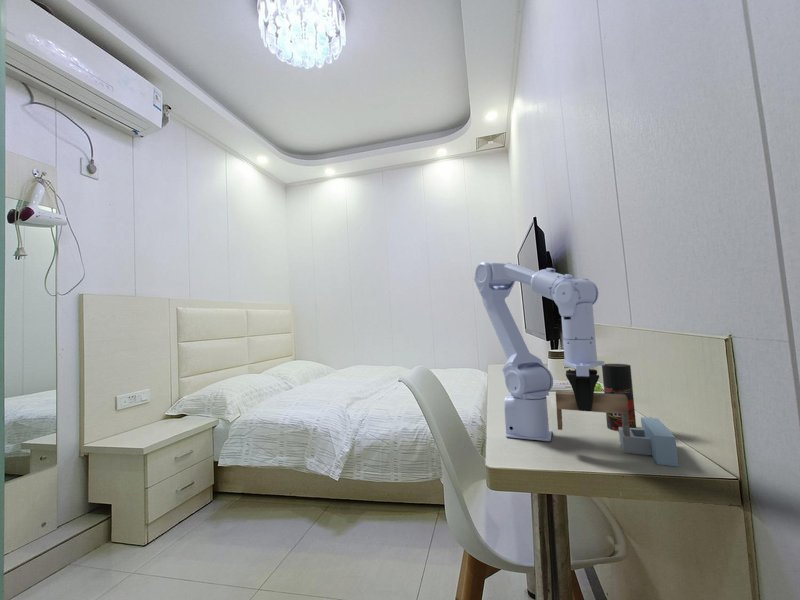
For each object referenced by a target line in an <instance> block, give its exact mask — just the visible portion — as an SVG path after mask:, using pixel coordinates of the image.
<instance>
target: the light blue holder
mask: <svg viewBox="0 0 800 600" xmlns="http://www.w3.org/2000/svg"><path fill="white" fill-rule="evenodd" d="M640 423H641V428H639V427H636V428H630V437H628V436H625V435H624V433H623V429H622V427H618V428H619V431H618V438H619V443H620V446H621V447H622V451H623V452H624V453H627V454H636V455H645V456H646V455H647V456H651V457H652V458H653V459H654V461H655V462H656V464H657V465H661V466H670V467H680V466H679V458H678V448H677V447H678V446H677V440H676V436H675V435H674V434H673V433H672V432H671V431H670V430H669V428H668V427H666V425H665V424H664V423H663V422H662V421H661V420H660V419H659V418H658V417H640Z"/></svg>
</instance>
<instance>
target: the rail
mask: <svg viewBox="0 0 800 600" xmlns="http://www.w3.org/2000/svg"><path fill="white" fill-rule="evenodd" d="M555 403H556V404H555V405H556V420H557V430H560V431H563V426H564V425H563V412H562V410H567V411H579V409H578V407H577V403H576V399H575V395H574V392H573V391H570V390H569V391H565V390H555ZM579 412H580V411H579ZM590 412H593V413H603V414H604V413H605V414H606V413H617V414H621V416H622V429H623V433H624V435H625V436H628V437H630V427H629V414H628V400H627V397H626V395H625V394H607V393H604V392H594V394H593V404H592V409H591V411H590Z"/></svg>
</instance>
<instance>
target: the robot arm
mask: <svg viewBox="0 0 800 600" xmlns="http://www.w3.org/2000/svg"><path fill="white" fill-rule="evenodd" d="M473 280H474V283H475V285H476V287H477V290H478V291H479V295H480V296H481V300H482V303H483V306H484V308H485V311H486V314H487V316H488V317H489V319H490V323H491V325H492V327H493V329H494V331H495V334H496V336H497V338H498V340H499V343H500V345H501V347H502V349H503V352H504V354H505V356H506V359H507V361H506V362H505V364H504V365H503V367H502V369H501V370H502V372H503V375H504V380H505V381H504V382H505V386H506V389H507V391H508V392H509V394H510V395H505V397H504V421H505V422H504V423H505V437H507V438H512V439H513V438H514V439H522V440H523V439H524V440H532V441H533V440H534V441H541V442H542V441H544V442H551V441H552V433H553V430H552V429H551V428H550V426H549V413H548V411H549V410H548V400H547V398H548V397H549V395H550V393H549V392H550V391H551V390H552V388H553V386H554V377H553V374H552V372H551V371H550V370H549V368H547V367H546V366H545V364H544V363H543V361H542V359H541V358H539V356H536V355H534V354H532V353H531V352H530V351H529V348H528V347H527V344H526V342H525V340H524V337H523V336H522V334H521V332H520V330H519V328H518V327H519V326H517V323H516V321H515V319H514V317H513V315H512V313H511V311H510V308H509V307H508V304H507V303H506V298H508V297H509V295H510V294H511V292H512V289H513V287H514V285H515V284H516V283H515V282H519V283H522V284H525V285H528V286H530V287H531V290H532V291H533V292H534V293H535V294H537V295H538V296H539V295H540V296H542V297H545V298H547V299H550V300H552V301H554V303H555V305H556V306H557V308H558V314H559V315H560V316H561V317H560V318H561V330H562V339H563V341H562V342H563V355H564V361H563V365H564V366H565V367H568V368H570V370H569V369H567V370H566V371H565V377H566V379H567V380H568V382H569V384H570V386H571V389H572V392H574V395H575V399H576V403H577V407H578V409H579V412H591V409H592V404H593V394H594V393H595V389H596V385H597V383H598V381H599V379H600V375H599V374H598V370H597V369H594V368H596V367H598V366H602V365H605V364H606V363H605V361H604V360H598V355H597V353H598V352H597V343H596V342H597V341H596V331H595V330H596V329H595V328H596V327H595V320H594V319H595V318H594V317H595V316H594V305H595V304H596V302H597V301H598V299H599V288H598V287H597V284H596V283H594V282H593V281H592V280H589V278H580V279H577V278H576V279H575V278H574V275H572V274H569V273H565V274H562V273H559V272H556V269H555V268H552V267H546V268H544V269H539V270H538V271H535V270H532V269H530V268H527V267H524V266H522V265H519V264H518V263H512V262H506V263H504V262H503V263H501V262H487V261H481V262H479V264H477V266H476V268H475V273H474V278H473ZM571 368H572V369H571ZM592 368H593V369H592Z"/></svg>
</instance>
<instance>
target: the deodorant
mask: <svg viewBox="0 0 800 600" xmlns="http://www.w3.org/2000/svg"><path fill="white" fill-rule="evenodd" d="M604 364H605V365H601V371H602V381H603V382H602V383H603V393H607V394H625V395H626V397H627V400H628V414H629V427H630V428H637V421H636V411H635V410H636V409H635V401H634V400H635V399H634V390H633V389H634V387H633V379H632V378H633V377H632V369H631V364H626V363H625V364H624V363H604ZM605 416H606V417H605V418H606V427H607V429H609V430H613V431H617V432H619V428H618V427H622V416H621V414H617V413H605Z"/></svg>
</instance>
